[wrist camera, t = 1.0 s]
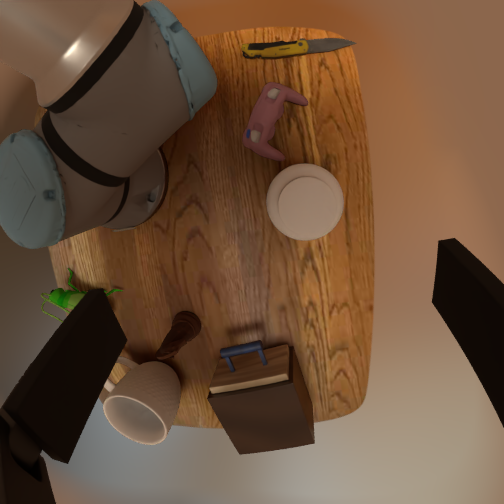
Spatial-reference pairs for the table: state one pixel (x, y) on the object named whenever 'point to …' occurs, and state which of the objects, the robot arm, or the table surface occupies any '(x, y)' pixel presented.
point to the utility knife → (292, 48)
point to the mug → (143, 401)
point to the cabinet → (268, 414)
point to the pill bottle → (305, 201)
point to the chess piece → (179, 334)
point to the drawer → (250, 367)
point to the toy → (66, 297)
